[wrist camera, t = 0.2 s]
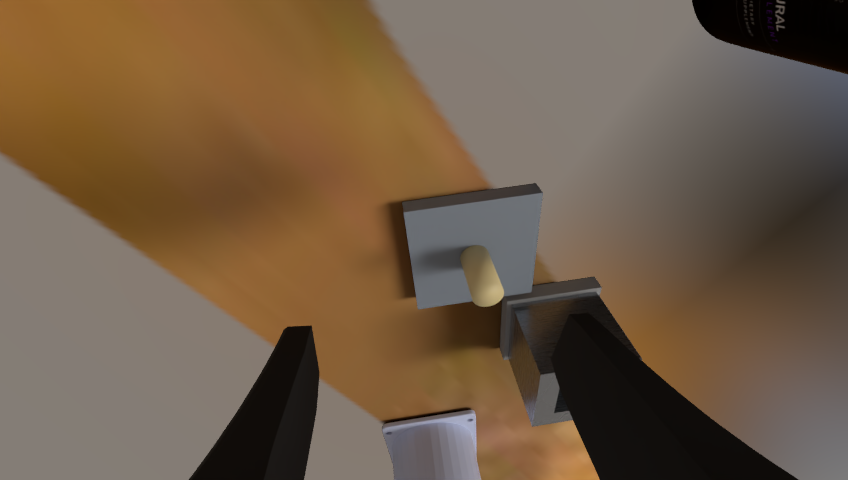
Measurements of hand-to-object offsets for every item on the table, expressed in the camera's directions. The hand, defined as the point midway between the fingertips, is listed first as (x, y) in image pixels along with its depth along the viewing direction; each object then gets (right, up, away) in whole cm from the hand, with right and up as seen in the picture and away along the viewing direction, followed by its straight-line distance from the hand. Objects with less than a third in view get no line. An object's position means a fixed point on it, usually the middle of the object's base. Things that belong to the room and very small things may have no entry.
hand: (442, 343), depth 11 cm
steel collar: (+8, -3, +14) cm, 17 cm away
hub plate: (+2, +3, +11) cm, 11 cm away
